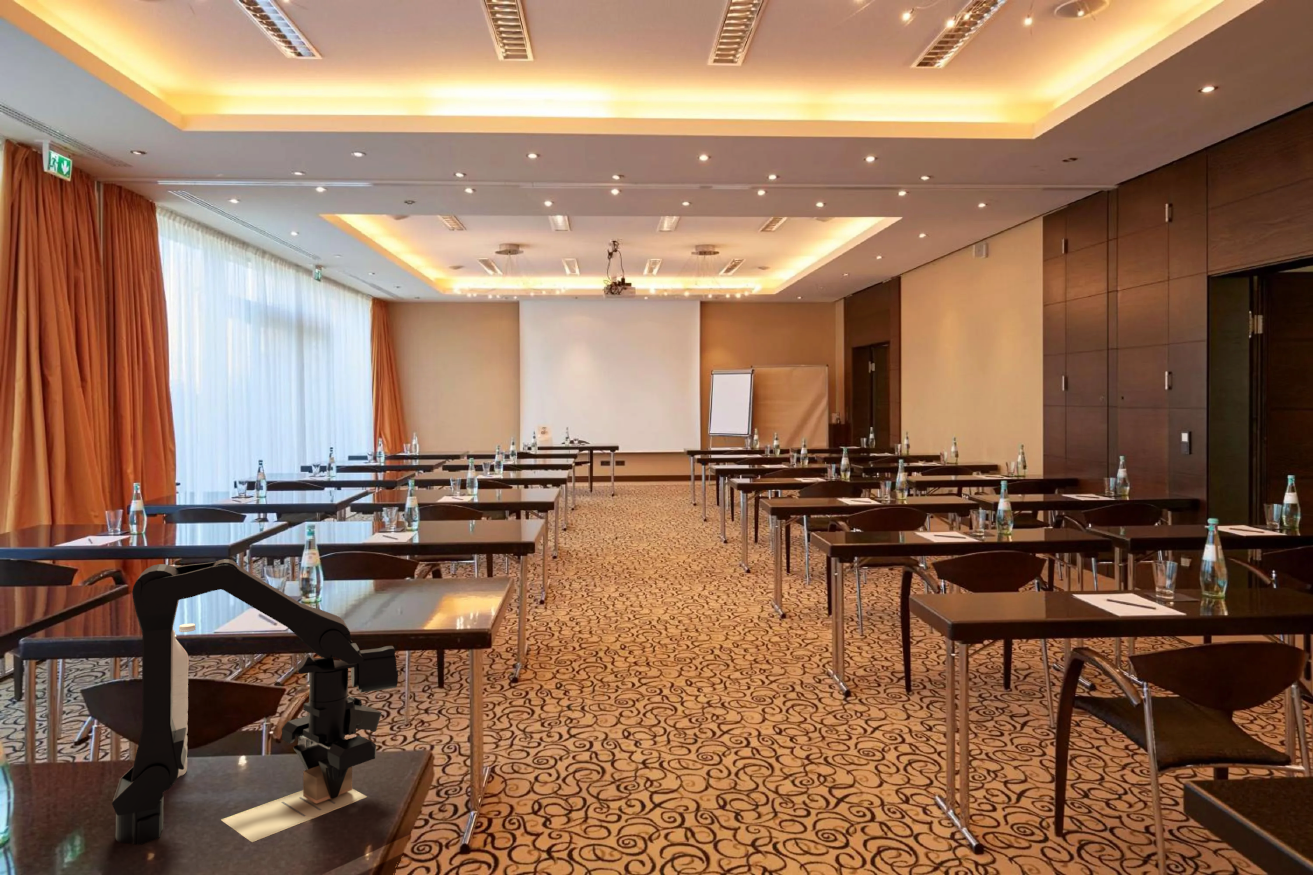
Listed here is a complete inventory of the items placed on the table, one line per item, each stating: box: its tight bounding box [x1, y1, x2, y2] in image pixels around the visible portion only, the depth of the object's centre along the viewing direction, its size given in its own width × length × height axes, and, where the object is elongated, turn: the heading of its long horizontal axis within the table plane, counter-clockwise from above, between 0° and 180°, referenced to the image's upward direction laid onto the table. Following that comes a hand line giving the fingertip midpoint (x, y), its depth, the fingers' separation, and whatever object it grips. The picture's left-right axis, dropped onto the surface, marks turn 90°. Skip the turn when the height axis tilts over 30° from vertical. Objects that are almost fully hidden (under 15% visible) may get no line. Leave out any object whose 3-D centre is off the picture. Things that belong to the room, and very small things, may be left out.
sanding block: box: [302, 765, 353, 804], centre depth 124 cm, size 4×6×4 cm, turn 142°
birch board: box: [220, 788, 368, 843], centre depth 120 cm, size 10×18×2 cm, turn 142°
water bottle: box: [172, 623, 196, 779], centre depth 135 cm, size 9×6×25 cm
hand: (327, 793), depth 124 cm, fingers closed on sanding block, 4 cm apart
